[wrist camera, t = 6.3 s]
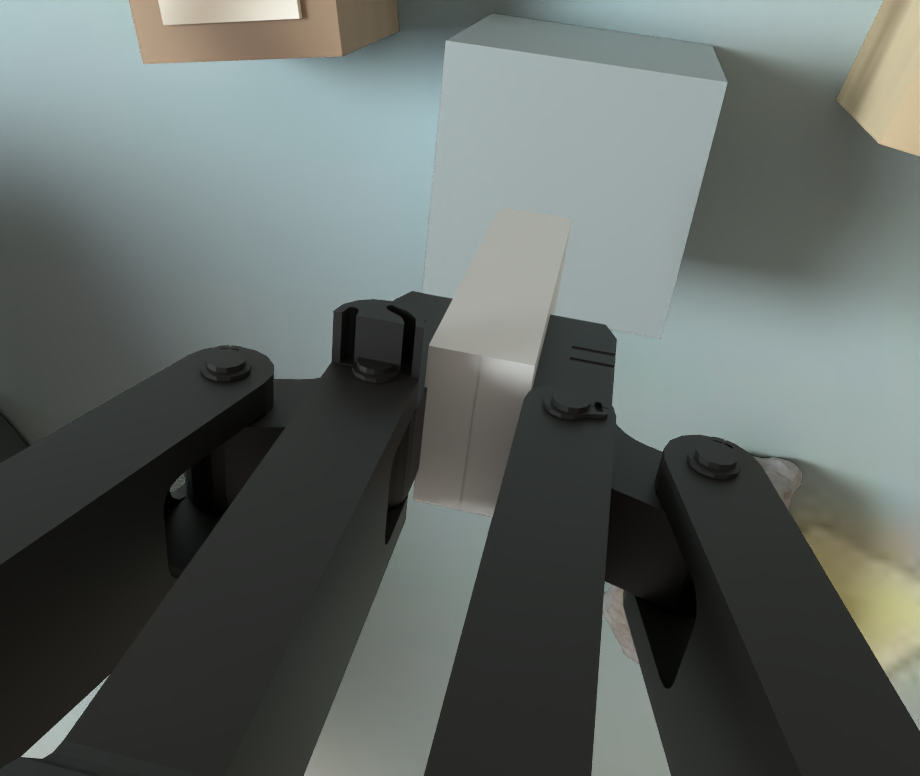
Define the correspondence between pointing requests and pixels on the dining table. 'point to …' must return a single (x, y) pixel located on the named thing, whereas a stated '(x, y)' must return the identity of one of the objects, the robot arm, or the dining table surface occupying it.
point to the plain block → (575, 157)
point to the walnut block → (258, 28)
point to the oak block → (888, 78)
